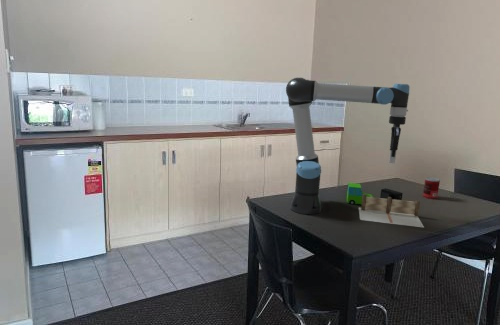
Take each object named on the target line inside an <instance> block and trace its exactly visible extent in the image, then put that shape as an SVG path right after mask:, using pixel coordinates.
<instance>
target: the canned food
mask: <svg viewBox="0 0 500 325" xmlns="http://www.w3.org/2000/svg"><path fill="white" fill-rule="evenodd" d="M440 181H441V180H440V179H439V178H437V177H430V176H427V177H425V179H424V185H423V191H422V192H423V193H422V196H423V198H426V199H430V200H436V199H438V195H439V190H440V183H441V182H440Z"/></svg>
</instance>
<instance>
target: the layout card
mask: <svg viewBox="0 0 500 325" xmlns="http://www.w3.org/2000/svg"><path fill="white" fill-rule="evenodd" d="M358 213H359V220H360V221H366V222H376V223H382V224H383V223H384V224H392V225H399V226H409V227H418V228H425V226H424V225H423V223H422V221H421V220H420V218H419V215H418V216H415V215H411V214H402V213H393V212H390V213H386V212H384V211H376V210H367V209H365V210H364V211H363V210H361V206H360V207H358Z"/></svg>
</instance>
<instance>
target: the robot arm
mask: <svg viewBox="0 0 500 325" xmlns="http://www.w3.org/2000/svg"><path fill="white" fill-rule="evenodd" d="M285 94H286V97H287V101H288V107H289V108H290V109H291V110H292V115H293V124H294V133H295V140H296V147H297V154H298V155H297V156H296V157H295V164H296V169H295V170H296V175H295V176H296V177H295V187H294V188H295V189H294V190H295V191H294V195H293V197H292V200H291V202H290V207H289V208H290V210H291V211H293V212H294V213H297V214H301V215H316V214H319V213H321V211H322V204H321V199H320V196H319V194H320V183H321V174H322V166H321V164H320V161H319V155H318V154H316V152H315V151H316V150H315V145H314V134H313V127H312V126H313V125H312V119H311V110H310V107H311V105H313V104H312V103H313V102H315V101H316V100H320V101H331V102H333V101H335V102H346V103H347V102H349V103H351V102H352V103H362V104H364V103H365V104H378V105H382V106H383V105H385V106H386V105H388V104H390V110H389V115H390V116H389V119H388V123H389V124H392V127H391V128H390V131H391V133H390V135H391V137H390V144H389V156H388V157H389V159H388V163H389V164H396V157H397V151H398V147H399V143H400V142H399V141H400V136H401V131H402V127H401V125H402V126H403V125H405V124H406V118H407V117H406V116H407V112H409V110H408V104H409V98H410V85H409V84H408V83H407V84H406V83H394V84H393V85H392V87H386V86H368V85H355V84H354V85H352V84H337V83H325V82H324V83H323V82H321V83H320V82H317V81H316V80H310V79H306V78H304V77H294V78H291V79H290V80H289V81H288V82H287V84H286V88H285Z"/></svg>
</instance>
